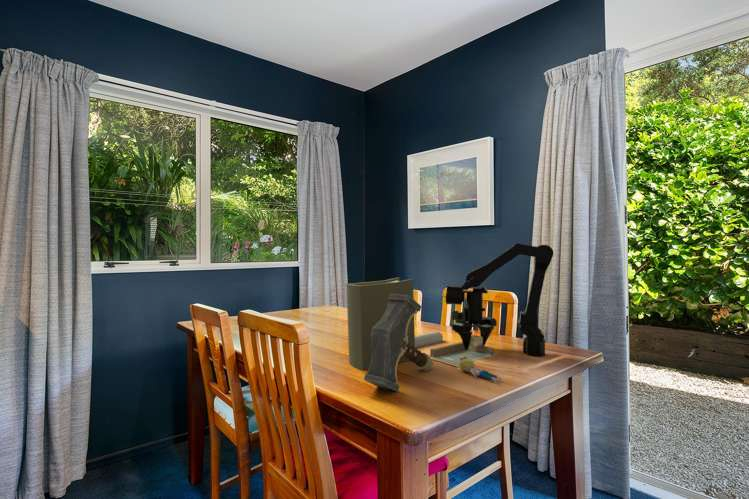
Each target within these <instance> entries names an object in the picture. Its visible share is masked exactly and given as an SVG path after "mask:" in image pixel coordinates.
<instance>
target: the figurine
mask: <svg viewBox="0 0 749 499" xmlns="http://www.w3.org/2000/svg"><path fill="white" fill-rule="evenodd" d="M460 360H461V362H460V363H459V365H458V366H459V368H460V370H461V372H465V373H466V372H467V373H469V374H470V373H471V374H472V375H473V376H474V378H475V379H477V378H478V377H479V378H484V379H486V380H487V379H488V380H492V381H494V384H495V385H496V384H497V382H499V383H500V384H501V383H502V381H503V380H502V379H503V378H502V377H501V376H498V375H497V374H493V373H491V372H490V371H488V370H485V369H482V368H479V367H476V364H475V361H472V360H471V359H468V358H467V357H463V358H460ZM498 380H499V381H498Z"/></svg>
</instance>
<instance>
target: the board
mask: <svg viewBox="0 0 749 499" xmlns="http://www.w3.org/2000/svg"><path fill="white" fill-rule="evenodd" d="M429 352H430V353H429V354H430V355H428V356H429V357H430V358H431V359H432V361H434V362H436V363H440V364H443V365H446V366H450V367H454V368H456V369H459V368H460V365H459V363H460V362H461V360H460V358H463V357H467V358H468V359H471V360H472V361H473V362H475V361H479V360H483V359H486V358H490V357H495V356H497V355H499V353H498V352H495V351H494V352H493V355H491V353H490V352H486V351H479V352H472V351H468V350H465V348H464V345H463V342H462V341H459V342H455V343H452V344H451V343H450V344H448V345H443V346H438V347H433V348H430V351H429Z"/></svg>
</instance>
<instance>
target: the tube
mask: <svg viewBox="0 0 749 499" xmlns="http://www.w3.org/2000/svg"><path fill="white" fill-rule="evenodd" d="M443 338H444V336H443V334H442V333H441V332H440V331H432V332H427V333H423V334H422V333H421V334H418V335H415V348H416V349H417V348H420V347H421V348H422V347H424V346H429V345H433V344H437V343H441V342H443Z"/></svg>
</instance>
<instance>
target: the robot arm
mask: <svg viewBox="0 0 749 499" xmlns="http://www.w3.org/2000/svg"><path fill="white" fill-rule="evenodd" d="M520 255H522V256H528V257H532V258H533V274H532V277H531V282H530V288H529V293H528V297H527V298H528V299H527V303H526V307H525V309H524V311H522V310H520V311H519V318H518V320H517V324H518V326H519V329H520V332H521V334H523V335H524V336H526V337H524V338H523V341H522V351H523V352H522V353H523V354H525V355H527V356H530V357H539V358H541V357H545V356H546V339H545V335H544V333H543V331H542V330H541V329H540V327H539V315H538V314H539V312H538V310H539V306H540V302H541V297H542V292H543V286H544V281H545V276H546V273H547V270H548V268H549V266H550V263H551V261H552V259H553V257H554V249H553V248H552V247H551V246H550V245H548V244H540V245H538V246H533V245H528V244H521V243H519V242H518V243H514V244H513V245H512V246H511V247H510V248H508V249H507V250H505V251H504V252H502V253H501V254H500V255H498V256H497V257H495V258H493V259H492V260H490V261H489V262H488V263H487V264H484V265H482V266H480V267H477V268H475V269H473V270H471V271H469V272H468V274H466V278H465V280H466V281H465V282H464V283H463V284H462V285H461V286H455V285H454V286H453V285H447V286H446V294H445V304H446V305H461V306H462V305H463V303H465V302H466V306H464V308H463V311H461V312H459V310H455V311H451V319H452V321H454V322H453V323H452V324H451V331H454V332H455V333H456V334H458V335H459V337H460V338H461V342H463V345H464V348H465V350H468V348H469V345H470V340H471V336H472V335H473V331H472V329H473V328H476V327H477V328H478V330H479V333H480V337H483V346H486V343H487V341H488V339H489V338H490V335H491V334H492V332H493V331H494V329H495V327H497V321H498V320H497V319H496V318H495V317H489V316H484V312H486V307H484V305H483V303H484V302H483V301H484V300H483V297H484V296H483V295H484V294H488V293H489V290H488V289H487V288H486V287H485V286H483V285H482V287H479V286H481V284H482V283H484V282H485V281H486V280H487V279H488V278H489V277H490V276H491V275H492V274H493V273H494V272H496V271H497V270H499V269H500V268H501V267H503V266H504V265H506V264H507V263H509V262H511V261H512V260H513V259H515V258H516V257H518V256H520ZM471 288H472V289H471ZM469 289H471V290H469Z"/></svg>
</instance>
